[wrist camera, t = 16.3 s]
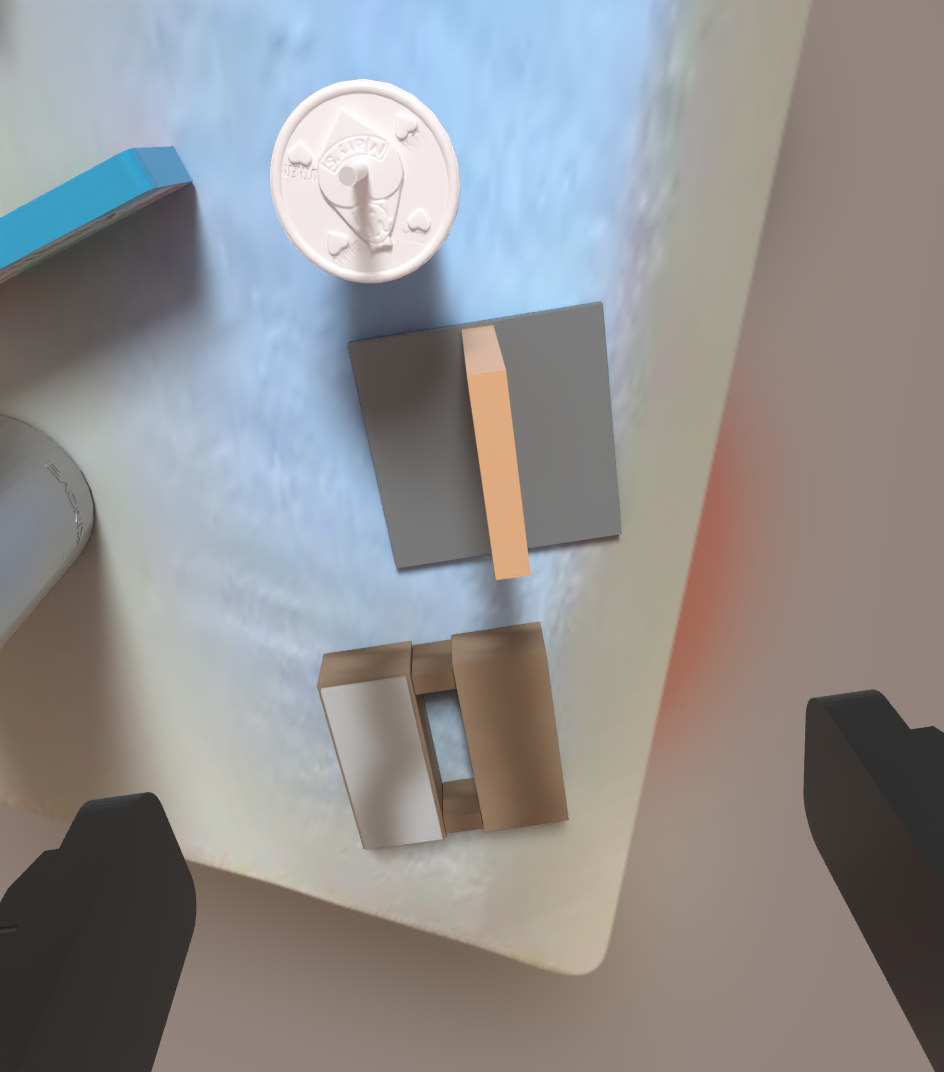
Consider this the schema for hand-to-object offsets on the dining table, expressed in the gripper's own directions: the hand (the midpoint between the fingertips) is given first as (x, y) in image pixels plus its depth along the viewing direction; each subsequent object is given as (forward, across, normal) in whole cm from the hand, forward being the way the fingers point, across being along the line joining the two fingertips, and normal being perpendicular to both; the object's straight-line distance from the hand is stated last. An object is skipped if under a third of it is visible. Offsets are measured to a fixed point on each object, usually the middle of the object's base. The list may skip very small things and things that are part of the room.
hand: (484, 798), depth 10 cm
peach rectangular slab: (+28, -1, +10) cm, 29 cm away
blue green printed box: (+32, +16, -6) cm, 37 cm away
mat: (+32, -1, +7) cm, 33 cm away
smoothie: (+32, +2, -6) cm, 33 cm away
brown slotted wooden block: (+32, +4, +24) cm, 40 cm away
